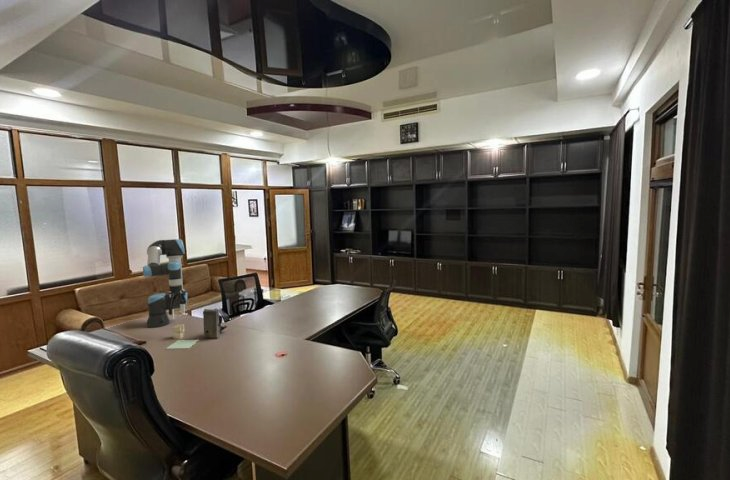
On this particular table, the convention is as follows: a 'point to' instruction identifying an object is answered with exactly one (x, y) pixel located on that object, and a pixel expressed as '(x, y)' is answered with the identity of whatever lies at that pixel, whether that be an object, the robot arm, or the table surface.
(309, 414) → the table surface
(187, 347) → the rest mat
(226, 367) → the table surface
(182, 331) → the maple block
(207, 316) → the grey upright block
